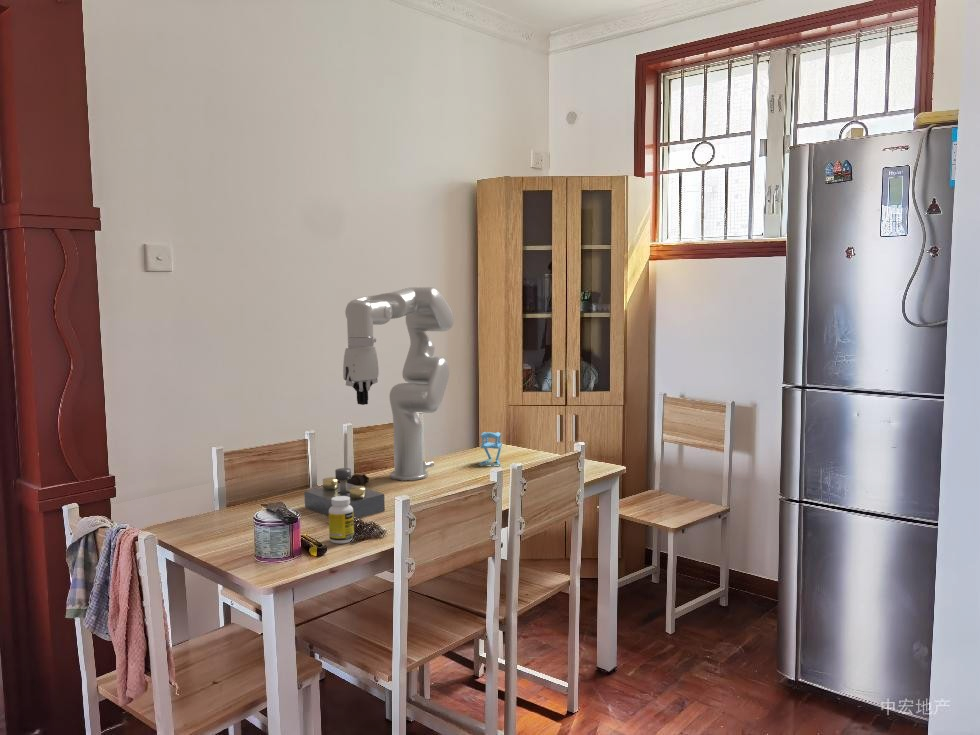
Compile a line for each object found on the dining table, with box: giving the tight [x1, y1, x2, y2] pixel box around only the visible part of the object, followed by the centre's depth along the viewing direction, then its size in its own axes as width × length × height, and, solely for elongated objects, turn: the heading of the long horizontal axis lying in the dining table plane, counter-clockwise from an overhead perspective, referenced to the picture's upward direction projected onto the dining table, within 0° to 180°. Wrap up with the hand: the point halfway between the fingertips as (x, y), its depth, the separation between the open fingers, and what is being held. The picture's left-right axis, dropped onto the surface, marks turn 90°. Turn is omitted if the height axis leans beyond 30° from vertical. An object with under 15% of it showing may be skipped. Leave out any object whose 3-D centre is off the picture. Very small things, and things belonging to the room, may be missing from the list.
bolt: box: [338, 474, 370, 486], centre depth 252 cm, size 6×5×15 cm
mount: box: [304, 483, 385, 519], centre depth 230 cm, size 14×20×5 cm
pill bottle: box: [328, 496, 355, 545], centre depth 202 cm, size 6×6×11 cm
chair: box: [478, 431, 503, 468], centre depth 285 cm, size 8×8×12 cm
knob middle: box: [334, 467, 352, 495], centre depth 230 cm, size 4×4×8 cm
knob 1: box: [322, 476, 338, 490], centre depth 235 cm, size 4×4×8 cm
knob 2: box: [350, 485, 366, 499], centre depth 225 cm, size 4×4×8 cm
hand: (362, 403), depth 238 cm, fingers closed
